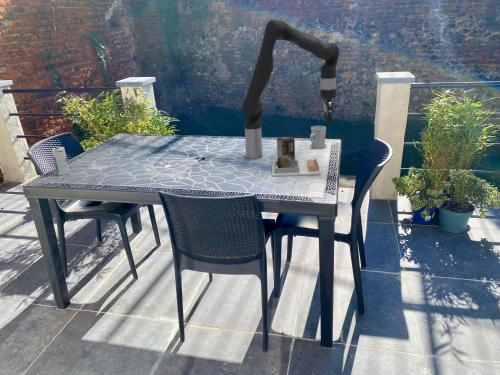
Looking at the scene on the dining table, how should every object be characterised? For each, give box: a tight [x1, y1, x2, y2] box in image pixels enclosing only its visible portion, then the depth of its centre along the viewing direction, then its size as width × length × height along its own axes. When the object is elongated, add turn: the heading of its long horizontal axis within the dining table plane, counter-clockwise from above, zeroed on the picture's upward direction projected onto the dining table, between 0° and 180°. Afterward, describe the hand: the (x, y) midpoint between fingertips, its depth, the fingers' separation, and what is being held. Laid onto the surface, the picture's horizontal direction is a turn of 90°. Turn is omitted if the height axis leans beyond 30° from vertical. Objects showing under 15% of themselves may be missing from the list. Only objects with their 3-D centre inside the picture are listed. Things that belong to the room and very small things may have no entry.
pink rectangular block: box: [306, 158, 320, 172], centre depth 204 cm, size 5×10×3 cm, turn 177°
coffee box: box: [276, 136, 296, 168], centre depth 203 cm, size 9×6×16 cm
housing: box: [271, 159, 321, 178], centre depth 205 cm, size 24×16×4 cm
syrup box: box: [51, 146, 70, 177], centre depth 217 cm, size 6×6×14 cm
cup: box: [309, 125, 327, 150], centre depth 239 cm, size 10×9×12 cm
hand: (328, 121), depth 195 cm, fingers open, 8 cm apart
